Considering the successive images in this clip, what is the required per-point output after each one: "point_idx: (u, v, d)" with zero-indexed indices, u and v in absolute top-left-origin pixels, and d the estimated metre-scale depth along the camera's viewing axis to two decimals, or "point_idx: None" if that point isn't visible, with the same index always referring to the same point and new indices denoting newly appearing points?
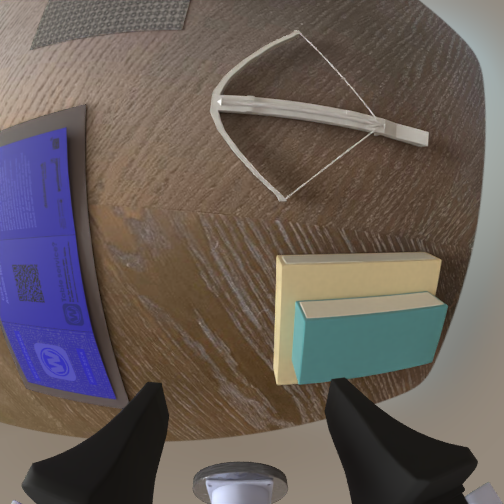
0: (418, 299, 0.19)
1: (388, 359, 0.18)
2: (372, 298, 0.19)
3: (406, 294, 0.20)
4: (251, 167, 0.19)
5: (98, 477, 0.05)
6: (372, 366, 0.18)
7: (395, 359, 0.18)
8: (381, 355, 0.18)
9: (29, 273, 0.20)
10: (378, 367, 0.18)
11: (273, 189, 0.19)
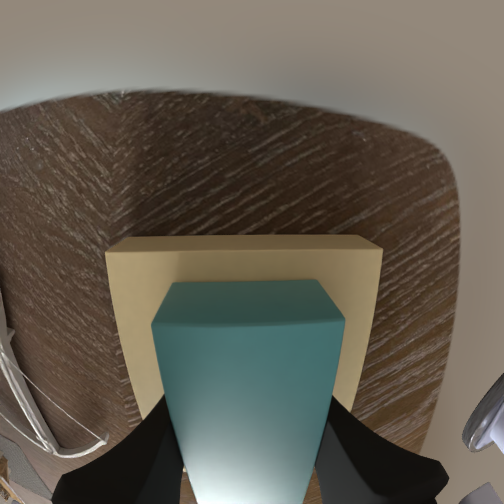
0: None
1: (287, 436, 0.08)
2: None
3: None
4: (87, 451, 0.15)
5: (136, 485, 0.05)
6: (294, 455, 0.09)
7: (293, 424, 0.08)
8: (273, 449, 0.08)
9: None
10: (302, 445, 0.09)
11: (98, 444, 0.14)
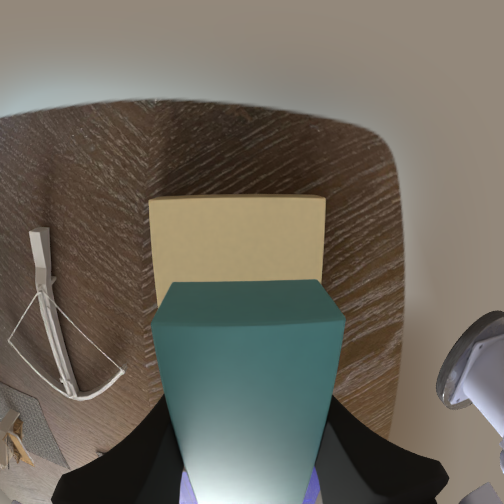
0: None
1: (287, 436, 0.08)
2: None
3: None
4: (106, 386, 0.20)
5: (136, 485, 0.05)
6: (294, 454, 0.09)
7: (293, 424, 0.08)
8: (273, 448, 0.08)
9: None
10: (302, 445, 0.09)
11: (117, 375, 0.20)
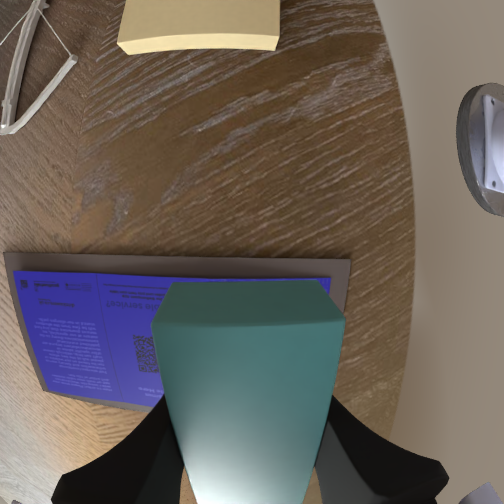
0: None
1: (287, 436, 0.08)
2: None
3: None
4: (45, 89, 0.14)
5: (136, 485, 0.05)
6: (294, 455, 0.09)
7: (293, 424, 0.08)
8: (273, 449, 0.08)
9: (144, 349, 0.21)
10: (302, 445, 0.09)
11: (63, 67, 0.14)
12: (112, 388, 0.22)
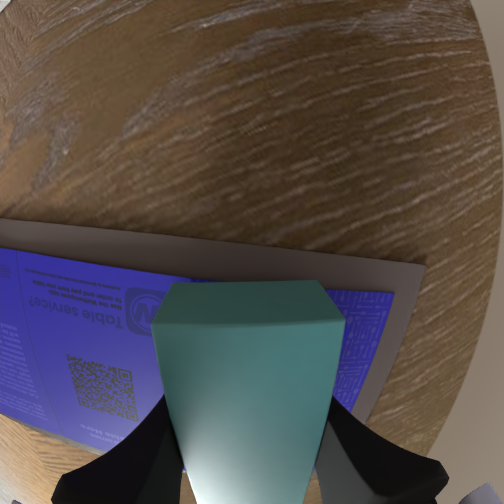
0: None
1: (287, 436, 0.08)
2: None
3: None
4: None
5: (136, 485, 0.05)
6: (294, 455, 0.09)
7: (293, 424, 0.08)
8: (273, 449, 0.08)
9: (83, 377, 0.12)
10: (302, 446, 0.09)
11: None
12: (47, 417, 0.12)
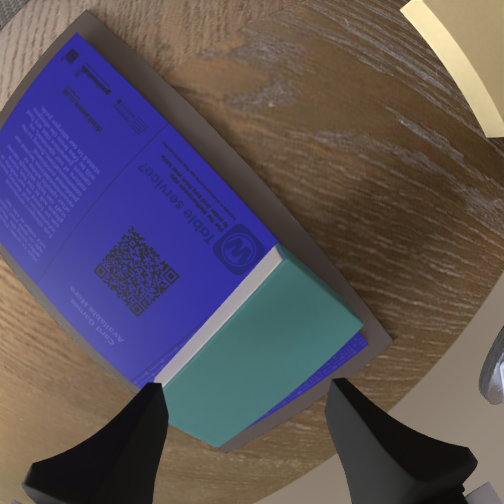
0: (252, 279, 0.13)
1: (279, 377, 0.13)
2: (206, 323, 0.15)
3: (245, 278, 0.14)
4: None
5: (98, 477, 0.05)
6: (266, 395, 0.13)
7: (290, 370, 0.13)
8: (262, 382, 0.13)
9: (127, 253, 0.14)
10: (278, 390, 0.13)
11: None
12: (39, 259, 0.14)
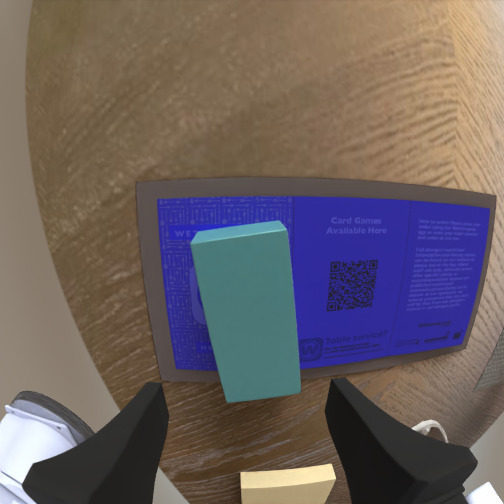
0: None
1: (234, 347, 0.17)
2: None
3: None
4: None
5: (98, 477, 0.05)
6: (224, 330, 0.16)
7: (233, 356, 0.17)
8: (239, 336, 0.16)
9: (364, 291, 0.19)
10: (221, 339, 0.16)
11: None
12: (417, 224, 0.18)
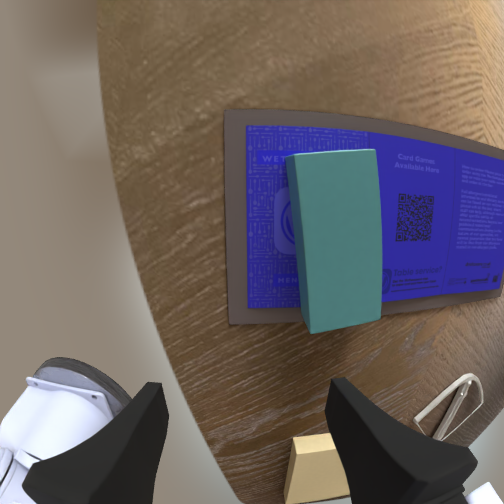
0: None
1: (326, 265, 0.17)
2: None
3: None
4: (436, 404, 0.24)
5: (98, 477, 0.05)
6: (319, 245, 0.17)
7: (325, 275, 0.17)
8: (332, 252, 0.17)
9: (424, 225, 0.20)
10: (316, 255, 0.17)
11: (423, 416, 0.25)
12: (461, 169, 0.19)
